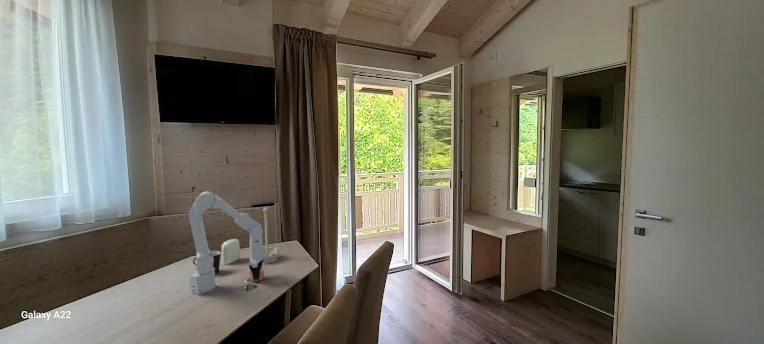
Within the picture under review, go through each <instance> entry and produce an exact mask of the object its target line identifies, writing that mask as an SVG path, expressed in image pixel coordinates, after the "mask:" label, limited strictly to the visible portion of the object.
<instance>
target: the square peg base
mask: <svg viewBox="0 0 764 344" xmlns="http://www.w3.org/2000/svg"><path fill="white" fill-rule="evenodd" d="M268 279H269V277H268V276H265V275H264V278H263V279H262V280H260V281H251V280H250V277H249V278H247V279H246V280H248V281H249V283H250V284H253V285H257V284H260V283H262V282H265V281H266V280H268Z"/></svg>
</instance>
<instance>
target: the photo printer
mask: <svg viewBox="0 0 764 344" xmlns="http://www.w3.org/2000/svg"><path fill="white" fill-rule="evenodd" d="M220 249H221V263H222V265H225V266H227V265H230V264H233V263H235V262H236V261H238V260H240V259H241V248H240V240H239V239H237V238H232V239H228V240H226V241H224V242H223V243H222V244H221V248H220Z"/></svg>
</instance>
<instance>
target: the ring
mask: <svg viewBox="0 0 764 344" xmlns="http://www.w3.org/2000/svg"><path fill="white" fill-rule="evenodd" d="M249 270H250V269H249ZM264 271H265V270H264V268H263V267H262V268H261V270H260V276H259V279H258V280H254V278H253V275H252V272H251V270H250V271H249V278H250V280H251V281H260V280H262V279H263V278H264V276H265V275H264V274H265V273H264Z"/></svg>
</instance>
